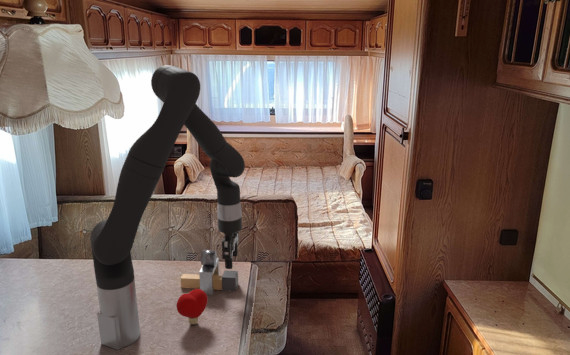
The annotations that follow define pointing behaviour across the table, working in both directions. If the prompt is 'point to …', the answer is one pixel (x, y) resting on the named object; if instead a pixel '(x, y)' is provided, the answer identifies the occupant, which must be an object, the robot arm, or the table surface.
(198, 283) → the plug
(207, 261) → the housing
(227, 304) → the table surface
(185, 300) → the red heart ornament
